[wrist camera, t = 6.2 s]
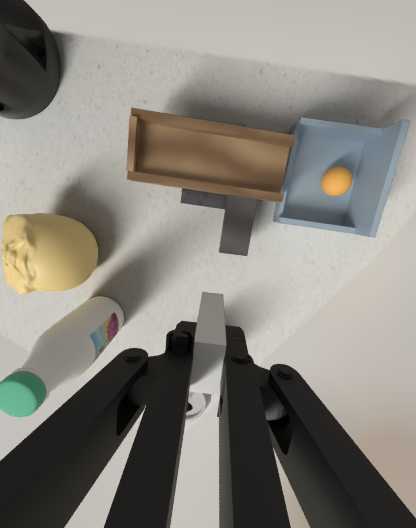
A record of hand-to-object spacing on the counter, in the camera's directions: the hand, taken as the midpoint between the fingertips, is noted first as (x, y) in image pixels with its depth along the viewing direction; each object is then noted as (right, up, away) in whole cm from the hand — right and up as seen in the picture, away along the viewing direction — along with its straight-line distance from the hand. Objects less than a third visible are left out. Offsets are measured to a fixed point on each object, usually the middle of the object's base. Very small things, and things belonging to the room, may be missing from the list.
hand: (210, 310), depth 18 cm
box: (+17, +16, +20) cm, 30 cm away
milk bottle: (-19, -6, +27) cm, 33 cm away
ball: (+18, +15, +17) cm, 29 cm away
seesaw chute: (-1, +13, +16) cm, 21 cm away
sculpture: (-23, +6, +24) cm, 34 cm away
